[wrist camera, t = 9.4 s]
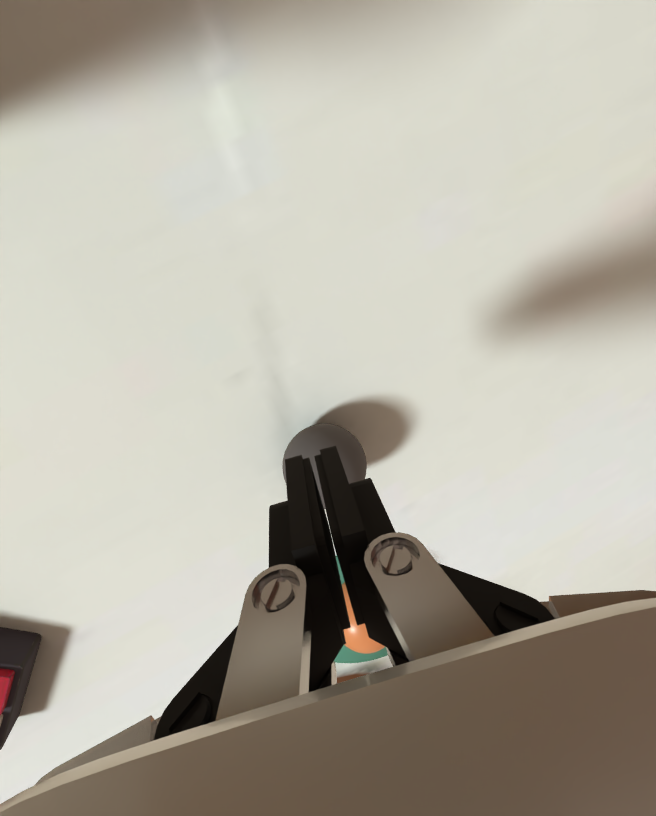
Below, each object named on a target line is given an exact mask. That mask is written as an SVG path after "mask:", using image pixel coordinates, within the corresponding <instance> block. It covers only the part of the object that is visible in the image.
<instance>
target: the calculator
mask: <svg viewBox="0 0 656 816" xmlns="http://www.w3.org/2000/svg"><path fill="white" fill-rule="evenodd" d="M40 642H41V635H39V634H37V633H32V632H26V631H20V630H14V629H8V628H2V627H0V750H1V749H2V747H3V745H4V743H5V741H6V739H7V737H8V735H9V733H10V732H11V730H12V728H13V726H14V724H15V722H16V720H17V718H18V716H19V714H20V710H21V707H22V703H23V700H24V697H25V693H26V690H27V686H28V683H29V679H30V676H31V673H32V669H33V666H34V662H35V659H36V655H37V652H38V649H39V645H40Z"/></svg>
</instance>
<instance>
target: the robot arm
mask: <svg viewBox="0 0 656 816" xmlns="http://www.w3.org/2000/svg"><path fill="white" fill-rule="evenodd" d="M320 453H321V454H319V455H316V456H314V457H315V462H316V466H317V471H318V475H319V480H320V485H321V489H322V494H323V498H324V503H325V507H326V512H327V517H328V521H329V525H328V521H327V518H326V514H325V511H324V507H323V504H322V500H321V497H320V493H319V490H318V486H317V483H316V479H315V476H314V472H313V469H312V465H311V462H310V459H309V457H308V458H305V459H303V457H302V455H299V456H295V457H291V458H288V459H285V469H286V483H287V498H288V501H285V502H281V503H278V504H274V505H271V506H270V508H269V568H268V569H266V570H264V571H262V572H261V573H260V574H259V575H258V576H257V577H255V578H254V580H253V581H252V582H251V584H250V585H249V587H248V589H247V592H246V594H245V599H244V603H243V607H242V611H241V615H240V620H239V624H238V626H237V627H236V628H235V629H234V630H233V631H232V632H231V634H230V635H229V636H228V637H227V638H226V639H225V640H224V641H223V643H222V644H221V645H220V646H219V647H218V648H217V649H216V651H215V652H214V653H213V654H212V655H211V656H210V657H209V659H208V660H207V661H206V662H205V663H204V664H203V665H202V667H201V668H200V669H199V670H198V671H197V672H196V673H195V674H194V676H193V677H192V678H191V679H190V680H189V681H188V682H187V684H186V685H185V686H184V687H183V688H182V689H181V690H180V692H179V693H178V694H177V695H176V696H175V697H174V698H173V700H172V701H171V702H170V704H169V705H168V706H167V708H166V709H165V711H164V712H163V714H162V716H161V717H159V718H157V719H155V720H154V718H153V717H152V716H149V717H147V718H146V719H144V720H142V721H140V722H138V723H136V724H135V725H133V726H131V727H129V728H127V729H125V730H124V731H122V732H120V733H118V734H116V735H114V736H113V737H111V738H109V739H107V740H105V741H103V742H102V743H100V744H98V745H96V746H94V747H93V748H91V749H89V750H87V751H85V752H83V753H82V754H80V755H78V756H76V757H74V758H72V759H71V760H69V761H67V762H65V763H63V764H61V765H60V766H58V767H56V768H55V769H53V770H52V771H50V772H49V773H48V774H46V775H45V776H43V777H42V778H41V779H40V780H39V781H38V782H37V783H36V784H35V785H34V786H33V787H30V788H28V789H26V790H24V791H22V792H21V793H19V794H17V795H15V796H14V797H12V798H10V799H8V800H7V801H5V802H3V803H1V804H0V816H656V591H646V590H636V591H621V592H605V593H589V594H573V595H558V596H549V601H548V602H539V601H537V600H536V599H534V598H532V597H530V596H528V595H526V594H523V593H520V592H518V591H515V590H512V589H509V588H506V587H504V586H501V585H498V584H495V583H492V582H489V581H487V580H484V579H481V578H478V577H475V576H473V575H470V574H467V573H464V572H461V571H459V570H456V569H453V568H450V567H447V566H444V565H442V564H439V563H437V562H436V560H435V559H434V558H433V557H432V555H431V554H430V553H429V551H428V550H427V549H426V548H425V546H424V545H423V544H422V543H421V542H420V541H419V540H418V539H417V538H415V537H413V536H411V535H409V534H405V533H400V532H398V533H396V532H395V530H394V528H393V526H392V524H391V522H390V519H389V517H388V515H387V513H386V511H385V508H384V506H383V504H382V502H381V500H380V497H379V495H378V493H377V491H376V489H375V486H374V484H373V482H372V480H371V478H368V479H364V480H361V481H357V482H353V483H350V484H349V482H348V479H347V476H346V473H345V471H344V468H343V465H342V462H341V459H340V456H339V453H338V450H337V448H336V446H332V447H328V448H324V449H321V450H320ZM329 526H330V529H329ZM330 530H331V533H330ZM331 534H332V538H331ZM332 539H333V542H334V546H335V550H336V553H337V557H338V560H339V564H340V567H341V571H342V574H343V578H344V581H345V585H346V588H347V592H348V595H349V599H350V602H351V606H352V609H353V613H354V616H355V620H356V623H357V626H358V625H361V624H364V623H365V626H366V629H367V633H368V637H369V638H371V639H372V640H374V641H376V642H378V643H380V644H381V645H383V646H385V647H386V650H387V653H388V656H389V659H390V661H391V663H392V665H393V667H391V668H388V669H384V670H381V671H378V672H374V673H371V674H368V675H364V676H362V677H358V678H354V679H352V680H348V681H345V682H342V683H338V684H337V679H336V666H335V661H334V660H335V658H336V657H337V655H338V653H339V652H340V650H341V648H342V647H343V645H344V644H346V640H345V635H344V629H348V628H351V625H350V621H349V616H348V611H347V607H346V602H345V598H344V593H343V588H342V584H341V579H340V574H339V570H338V565H337V561H336V556H335V551H334V547H333V542H332Z"/></svg>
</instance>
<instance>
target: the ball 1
mask: <svg viewBox="0 0 656 816" xmlns="http://www.w3.org/2000/svg"><path fill="white" fill-rule="evenodd" d="M332 446H336V448H337V450H338V453H339V456H340V459H341V462H342V465H343V468H344V471H345V473H346V476H347V479H348V482H349V484H350V483H353V482H357V481H361V480H364V479H365V475H366V467H367V466H366V457H365V453H364V451H363V448H362V446H361V444H360V443H359V441H358V440H357V439H356V438H355V436H353V435H352V434H351V433H350V432H349V431H347V430H346V429H344V428H342V427H339V426H336V425H332V424H317V425H313V426H310V427H308V428H306V429H304V430H302V431H301V432H299V433H298V434H297V435H296V436H295V437H294V438H293V439H292V440H291V442H290V443H289V445H288V447H287V449H286V451H285V454H284V458H283V475H284V479H285V482H286V469H285V459H288V458H291V457H295V456H299V455H302V457H303V459H305V458H308V457H309V459H310V462H311V465H312V469H313V472H314V476H315V479H316V483H317V486H318V490H319V493H320V497H321V500H322V504H323V507H324V509H326V507H325V503H324V498H323V494H322V489H321V485H320V480H319V475H318V471H317V466H316V462H315V457H314V456H316V455H319V454H321V453H320V450H321V449H324V448H328V447H332ZM286 484H287V483H286Z"/></svg>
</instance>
